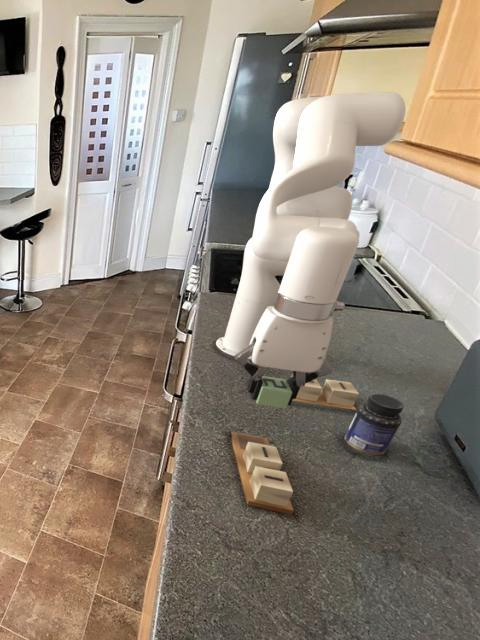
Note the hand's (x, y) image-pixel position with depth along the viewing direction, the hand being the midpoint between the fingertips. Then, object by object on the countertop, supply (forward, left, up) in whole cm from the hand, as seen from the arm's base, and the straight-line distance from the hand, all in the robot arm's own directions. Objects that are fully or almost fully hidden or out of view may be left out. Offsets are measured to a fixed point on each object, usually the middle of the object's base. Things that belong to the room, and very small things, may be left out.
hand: (269, 397), depth 78 cm
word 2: (-22, +14, -12) cm, 28 cm away
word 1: (+6, 0, -12) cm, 14 cm away
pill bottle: (-7, +20, -12) cm, 24 cm away
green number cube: (0, 0, 0) cm, 0 cm away
